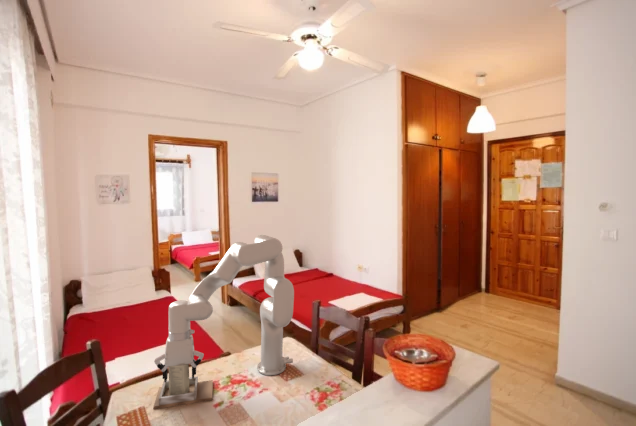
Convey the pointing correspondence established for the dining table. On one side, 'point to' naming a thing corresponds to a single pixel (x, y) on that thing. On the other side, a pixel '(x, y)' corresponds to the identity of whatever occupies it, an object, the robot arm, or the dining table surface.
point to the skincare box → (178, 379)
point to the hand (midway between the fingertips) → (179, 378)
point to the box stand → (194, 395)
